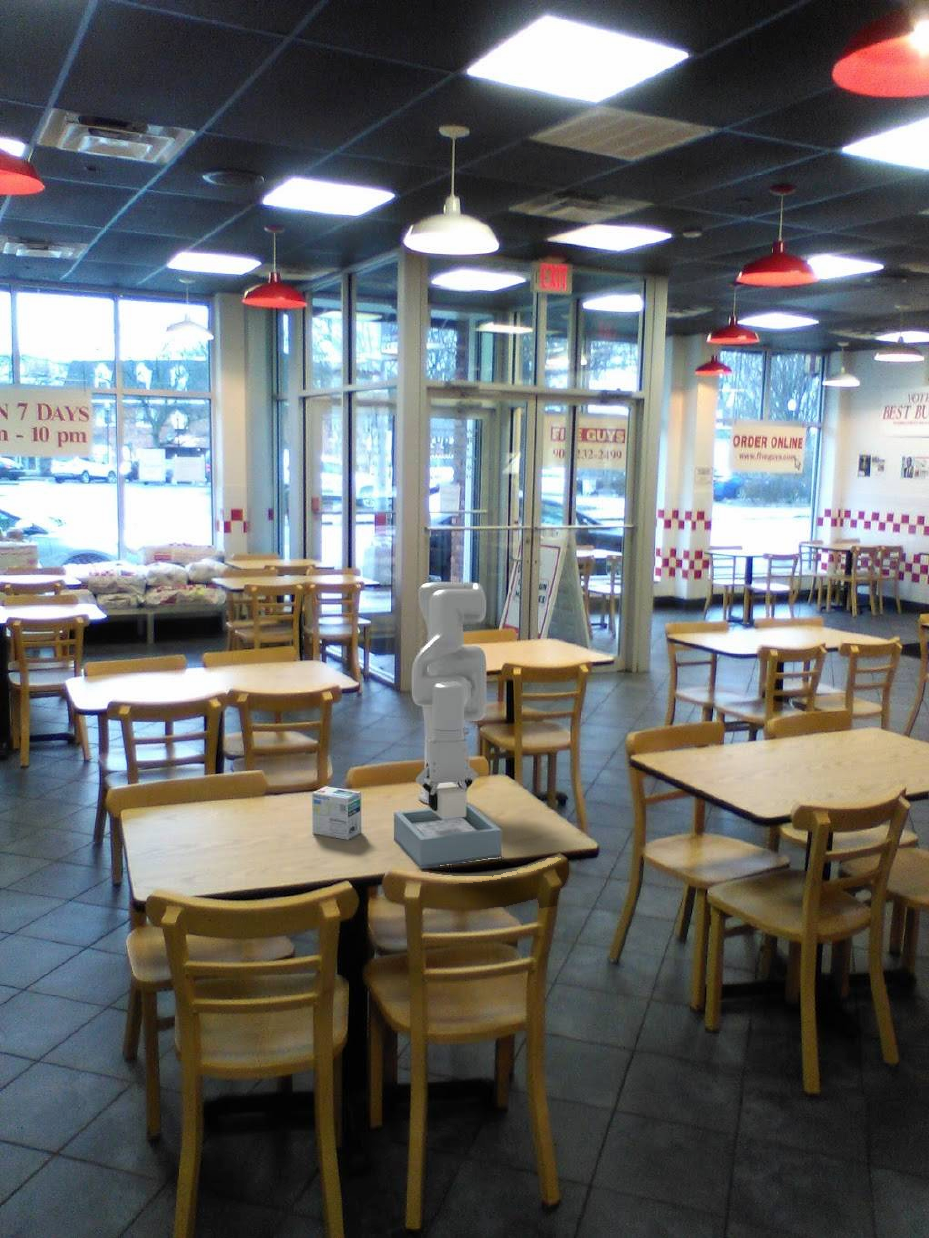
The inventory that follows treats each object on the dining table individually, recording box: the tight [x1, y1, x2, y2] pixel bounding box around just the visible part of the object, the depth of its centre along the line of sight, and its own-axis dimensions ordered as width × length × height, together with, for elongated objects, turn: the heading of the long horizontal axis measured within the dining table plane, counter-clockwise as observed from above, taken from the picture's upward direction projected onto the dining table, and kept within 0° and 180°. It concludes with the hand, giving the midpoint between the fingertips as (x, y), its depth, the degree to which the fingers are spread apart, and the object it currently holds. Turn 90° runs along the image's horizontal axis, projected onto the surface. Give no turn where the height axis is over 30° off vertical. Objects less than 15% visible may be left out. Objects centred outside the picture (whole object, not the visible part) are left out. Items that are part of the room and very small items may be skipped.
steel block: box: [412, 817, 477, 837], centre depth 257 cm, size 13×13×4 cm
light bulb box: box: [311, 785, 362, 841], centre depth 267 cm, size 11×7×11 cm, turn 65°
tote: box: [393, 803, 502, 870], centre depth 257 cm, size 20×20×7 cm
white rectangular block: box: [427, 782, 468, 820], centre depth 256 cm, size 9×6×6 cm, turn 24°
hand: (446, 807), depth 256 cm, fingers closed on white rectangular block, 6 cm apart
